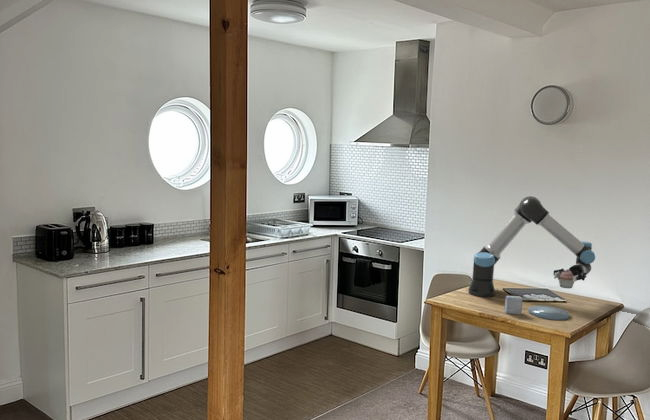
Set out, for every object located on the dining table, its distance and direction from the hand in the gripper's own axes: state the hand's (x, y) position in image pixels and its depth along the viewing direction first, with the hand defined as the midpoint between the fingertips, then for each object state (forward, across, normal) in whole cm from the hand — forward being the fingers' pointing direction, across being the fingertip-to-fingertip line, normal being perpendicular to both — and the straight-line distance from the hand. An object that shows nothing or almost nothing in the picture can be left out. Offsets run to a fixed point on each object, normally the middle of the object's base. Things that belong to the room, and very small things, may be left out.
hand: (564, 277), depth 324 cm
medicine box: (+26, +17, -18) cm, 35 cm away
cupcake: (-5, 0, -6) cm, 8 cm away
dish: (+13, +2, -18) cm, 22 cm away
